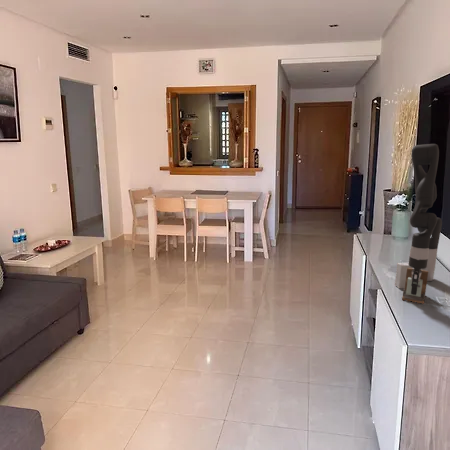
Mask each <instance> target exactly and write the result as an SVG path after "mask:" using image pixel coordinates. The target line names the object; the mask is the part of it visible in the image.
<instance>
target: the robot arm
mask: <svg viewBox="0 0 450 450" xmlns="http://www.w3.org/2000/svg"><path fill="white" fill-rule="evenodd" d="M439 157H440V149H439V145H438V144H436V143H426V144H425V143H424V144H416V145H414V146H412V148H411V162H412V169H413V174H414V189H415V190H414V191H415V204H414V208H413V210H412V213H411V216H410V219H409V223H410V225H411V227H412V228H416V229H417V231H418V232H415V233H413V234H412V239H411V246H410V250H409V256H408V257H409V258H408V263H409V266H410V267H413V268H412V278H411V281H412V284H411V286H412V289H411V294H413V295H416V293H417V287H418V282H420V277H421V273H422V271H421V270H425V271H428V278H427V282H432V281H434V277H435V276H434V275H435V269H436V263H437V262H436V261H437V257H438V256H437V255H438V249H439V242H440V236H441V231H442V227H443V226H442V225H443V221H442V220H443V219H442V218H441V217H437V215H436V214H435V213H434V212H428V209H431V208H432V207H433V205H434V203H435V202H436V199H437V196H438V194H437V185H436V177H437V171H438V166H439V159H440V158H439ZM426 165H429V168H428V170H427V172H426V171H425V170H424V168H423V166H426ZM413 282H416V283H417V284H413Z"/></svg>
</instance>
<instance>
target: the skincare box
mask: <svg viewBox="0 0 450 450" xmlns="http://www.w3.org/2000/svg"><path fill="white" fill-rule="evenodd" d="M407 268H412V269H414V268H413V267H410V266H409V262H397V264H396V271H395V272H396V273H395V280H394V281H395V282H394V286H395V287H396V286H397V287H398V289H405V281H406V273H407ZM397 287H396V288H397Z"/></svg>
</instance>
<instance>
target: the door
mask: <svg viewBox="0 0 450 450" xmlns="http://www.w3.org/2000/svg"><path fill="white" fill-rule="evenodd" d="M422 282H423V280H422V279H420V282H418V287H417V293H416V295H413V294H411V289H412V286H411V284H412V281H411V278H410V277H408V282H407V290H406V294H407V295H412V296H417V297H421V290H422ZM413 284H417V283H416V282H413Z"/></svg>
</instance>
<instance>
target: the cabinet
mask: <svg viewBox="0 0 450 450" xmlns="http://www.w3.org/2000/svg"><path fill="white" fill-rule="evenodd" d="M412 269H413V268H407V273H406V281H405V288H403V291H402V297H401V300H402V301H404V300H407V301H406V302H410V301H412V302H411V303H415V302H417V303H416V304H420V303H422V304H421V305H424V303H425V298H426V290H427V283H428V281H427V278H428V271H425V270H421V271H422V273H421V277H420V279H422V280H423V282H422V290H421V297H417V296H412V295H407V294H406V290H407V282H408V277H410V278H412Z"/></svg>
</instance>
